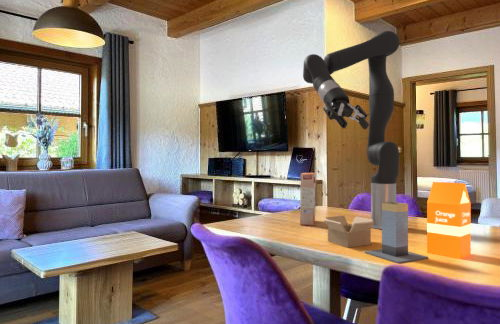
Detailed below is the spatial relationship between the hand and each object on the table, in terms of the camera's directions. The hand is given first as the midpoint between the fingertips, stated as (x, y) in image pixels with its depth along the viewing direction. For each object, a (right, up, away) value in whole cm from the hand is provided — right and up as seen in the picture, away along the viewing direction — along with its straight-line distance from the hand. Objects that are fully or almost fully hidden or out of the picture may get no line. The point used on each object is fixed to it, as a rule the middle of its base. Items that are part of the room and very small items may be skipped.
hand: (356, 126), depth 117 cm
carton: (-2, -37, +2) cm, 37 cm away
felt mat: (+7, -37, -14) cm, 40 cm away
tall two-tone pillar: (+7, -36, -14) cm, 39 cm away
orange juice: (+23, -37, -12) cm, 45 cm away
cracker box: (-9, -37, +40) cm, 55 cm away
